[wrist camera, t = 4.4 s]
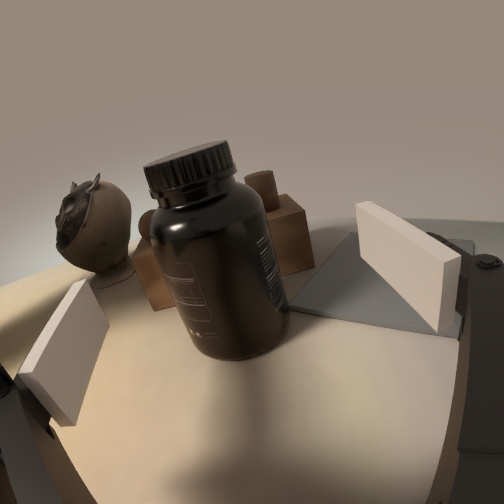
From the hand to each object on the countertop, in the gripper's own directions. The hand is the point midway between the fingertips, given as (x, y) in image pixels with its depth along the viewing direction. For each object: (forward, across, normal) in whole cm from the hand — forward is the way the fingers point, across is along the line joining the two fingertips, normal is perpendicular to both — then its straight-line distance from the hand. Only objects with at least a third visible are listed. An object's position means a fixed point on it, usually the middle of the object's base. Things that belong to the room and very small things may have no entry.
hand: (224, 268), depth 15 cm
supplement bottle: (+5, 0, -7) cm, 8 cm away
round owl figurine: (+22, -15, -7) cm, 27 cm away
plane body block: (+13, 0, -7) cm, 15 cm away
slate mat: (+5, +12, -7) cm, 14 cm away
